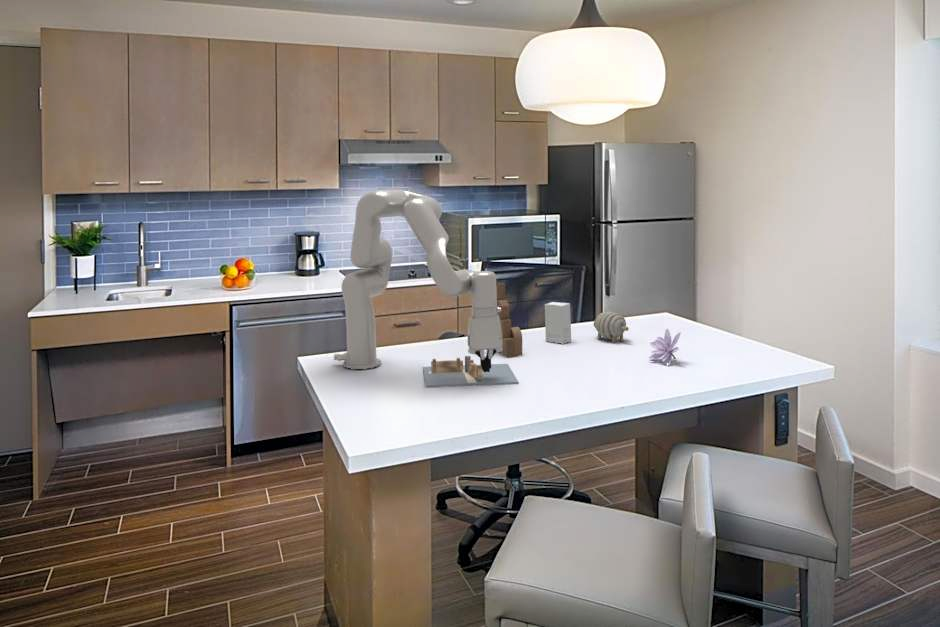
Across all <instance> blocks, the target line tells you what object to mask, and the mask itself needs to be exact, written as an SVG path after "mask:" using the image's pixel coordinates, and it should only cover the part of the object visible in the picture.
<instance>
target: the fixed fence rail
mask: <svg viewBox="0 0 940 627" xmlns="http://www.w3.org/2000/svg"><path fill="white" fill-rule="evenodd" d="M430 364H431V365H430V366H431V372H460V371H463V365H464V360H463V359H461V358H460V357H456V359H455V360H454V359H452V360H437V359H436V358H432V360H431V361H430Z"/></svg>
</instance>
